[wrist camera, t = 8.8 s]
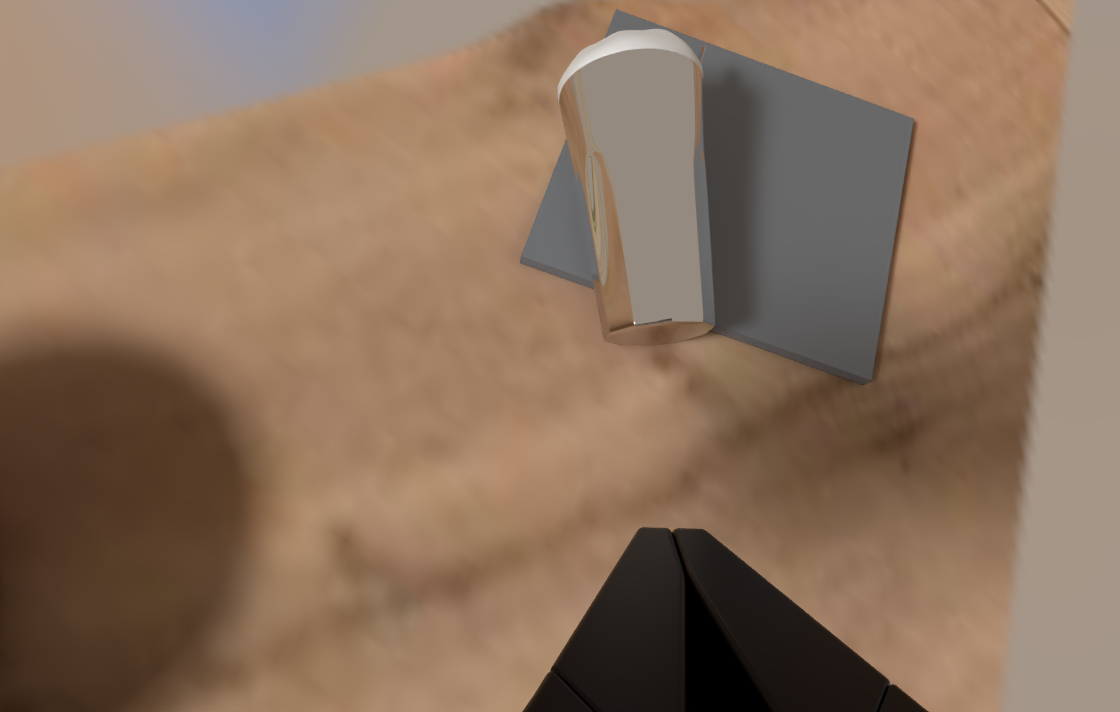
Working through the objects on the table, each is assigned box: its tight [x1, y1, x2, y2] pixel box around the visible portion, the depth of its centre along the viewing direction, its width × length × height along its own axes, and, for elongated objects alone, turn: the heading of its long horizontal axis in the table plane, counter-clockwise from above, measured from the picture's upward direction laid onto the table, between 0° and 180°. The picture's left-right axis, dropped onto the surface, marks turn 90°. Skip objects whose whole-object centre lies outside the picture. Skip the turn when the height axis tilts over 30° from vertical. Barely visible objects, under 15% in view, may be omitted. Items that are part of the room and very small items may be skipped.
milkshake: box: [558, 29, 715, 346], centre depth 21 cm, size 4×5×10 cm
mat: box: [520, 9, 914, 385], centre depth 24 cm, size 11×12×1 cm
